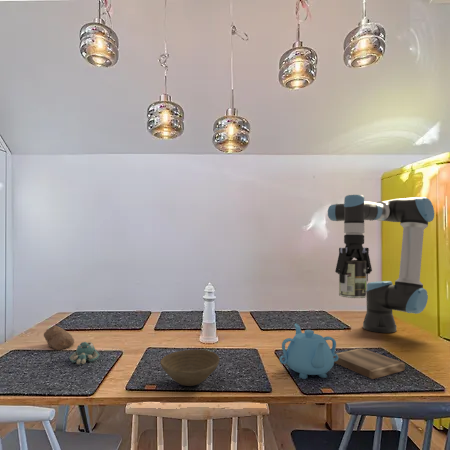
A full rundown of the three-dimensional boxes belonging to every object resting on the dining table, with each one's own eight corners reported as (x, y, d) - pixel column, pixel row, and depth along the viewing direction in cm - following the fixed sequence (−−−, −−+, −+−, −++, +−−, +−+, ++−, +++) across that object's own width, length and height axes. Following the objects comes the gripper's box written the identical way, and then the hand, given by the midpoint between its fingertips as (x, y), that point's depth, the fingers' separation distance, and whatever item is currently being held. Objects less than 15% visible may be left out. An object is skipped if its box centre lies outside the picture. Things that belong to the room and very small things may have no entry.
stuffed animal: (63, 352, 125) (72, 336, 136) (64, 371, 126) (72, 353, 138) (96, 350, 127) (101, 335, 138) (96, 369, 128) (102, 352, 140)
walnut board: (361, 354, 139) (361, 347, 139) (404, 370, 123) (404, 362, 123) (330, 361, 132) (330, 354, 132) (372, 379, 116) (372, 371, 116)
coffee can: (364, 294, 146) (364, 259, 147) (368, 298, 136) (368, 261, 137) (337, 293, 149) (337, 259, 149) (339, 297, 139) (339, 260, 139)
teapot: (323, 388, 109) (323, 341, 109) (270, 371, 122) (270, 329, 122) (346, 373, 121) (346, 331, 121) (295, 359, 134) (295, 321, 134)
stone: (47, 349, 151) (36, 332, 147) (65, 334, 157) (56, 317, 153) (63, 359, 144) (52, 342, 139) (82, 343, 150) (72, 325, 146)
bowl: (147, 391, 106) (148, 364, 107) (177, 369, 124) (177, 346, 124) (205, 402, 100) (205, 372, 100) (228, 377, 117) (228, 352, 117)
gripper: (366, 234, 151) (366, 287, 150) (325, 233, 141) (325, 291, 140) (381, 234, 144) (381, 290, 144) (339, 233, 134) (339, 293, 133)
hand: (354, 290), depth 142 cm, fingers closed on coffee can, 10 cm apart
